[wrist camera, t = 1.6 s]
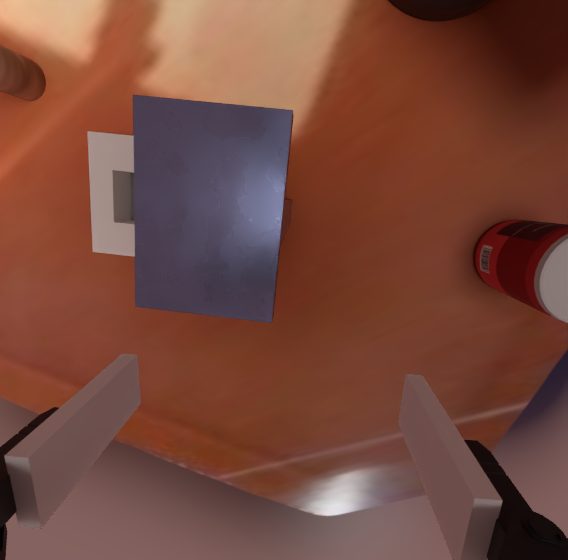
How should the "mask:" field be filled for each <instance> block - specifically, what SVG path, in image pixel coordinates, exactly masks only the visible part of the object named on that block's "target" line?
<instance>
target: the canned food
mask: <svg viewBox="0 0 568 560" xmlns="http://www.w3.org/2000/svg"><path fill="white" fill-rule="evenodd" d="M475 265H476V269H477V271H478V273H479V275H480V276H481V278H482V279H483V280H484V281H485V283H487V284H488V285H489V286H490V287H492V288H494V289H496V290H498V291H501V292H503V293H505V294H507V295H509V296H511V297H513V298H515V299H517V300H519V301H521V302H523V303H525V304H527V305H529V306H531V307H533V308H535V309H537V310H539V311H541V312H543V313H545V314H547V315H549V316H552V317H554V318H556V319H558V320H561V321H564V322H567V323H568V225H566V224H556V223H546V222H536V221H526V220H511V221H507V222H504V223H501V224H498V225H496V226H494V227H493V228H491V229H490V230H489V231H487V232H486V233H485V234H484V236H483V237H482V238H481V239H480V241H479V243H478V245H477V248H476V251H475Z"/></svg>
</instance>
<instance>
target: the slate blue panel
mask: <svg viewBox="0 0 568 560" xmlns="http://www.w3.org/2000/svg"><path fill="white" fill-rule="evenodd" d="M292 124H293V110H285V109H274V108H264V107H254V106H243V105H233V104H222V103H212V102H202V101H191V100H181V99H171V98H160V97H150V96H140V95H133V135H134V222H135V307H142V308H151V309H159V310H168V311H176V312H184V313H193V314H201V315H210V316H218V317H227V318H235V319H244V320H252V321H260V322H269V323H272V319H273V315H274V305H275V295H276V285H277V275H278V265H279V255H280V245H281V242H282V240H283V238H284V236H285V234H286V232H287V230H288V229H289V225H290V215H291V206H292V200H289V199H285V194H286V184H287V174H288V164H289V154H290V144H291V134H292Z"/></svg>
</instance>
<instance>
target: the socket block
mask: <svg viewBox="0 0 568 560" xmlns="http://www.w3.org/2000/svg"><path fill="white" fill-rule="evenodd" d="M88 154H89V177H90V199H91V222H92V245H93V252H99V253H107V254H116V255H125V256H134V257H135V222H134V136H130V135H120V134H110V133H100V132H90V131H88Z"/></svg>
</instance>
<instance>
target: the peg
mask: <svg viewBox="0 0 568 560" xmlns="http://www.w3.org/2000/svg"><path fill="white" fill-rule="evenodd" d="M44 90H45V76H44V74H43V71H42V70H41V68H40V67H39V66H38V65H37V64H36V63H35V62H33V61H32V60H30V59H28V58H26V57H24V56H22V55H20V54H18V53H16V52H14V51H12V50H10V49H8V48H6V47H4V46H2V45H0V91H2V92H5V93H8V94H11V95H13V96H16V97H19V98H22V99H25V100H36V99H38V98H39V97H40V96H41V95H42V94H43V92H44Z"/></svg>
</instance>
